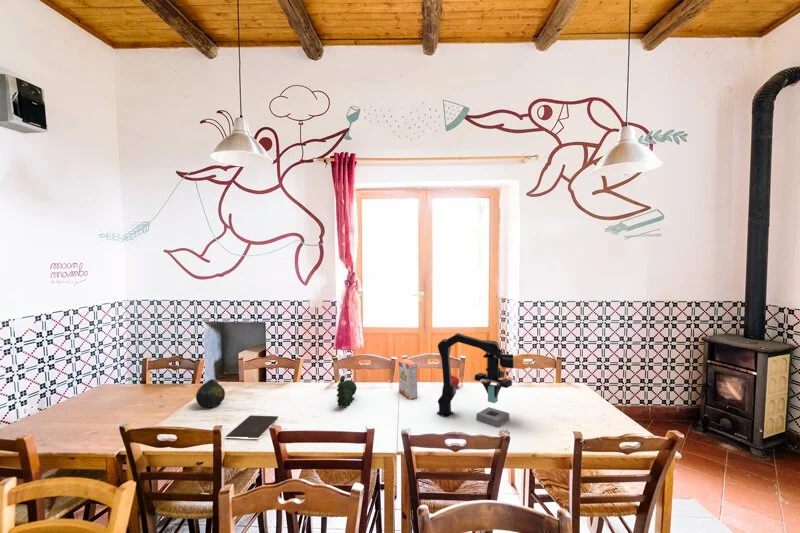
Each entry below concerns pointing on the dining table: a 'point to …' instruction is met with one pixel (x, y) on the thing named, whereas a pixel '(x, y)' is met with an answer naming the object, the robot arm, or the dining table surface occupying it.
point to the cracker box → (408, 378)
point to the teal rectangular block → (492, 394)
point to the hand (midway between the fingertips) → (492, 396)
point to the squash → (210, 394)
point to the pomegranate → (454, 381)
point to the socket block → (492, 417)
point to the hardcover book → (253, 426)
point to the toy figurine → (345, 391)
